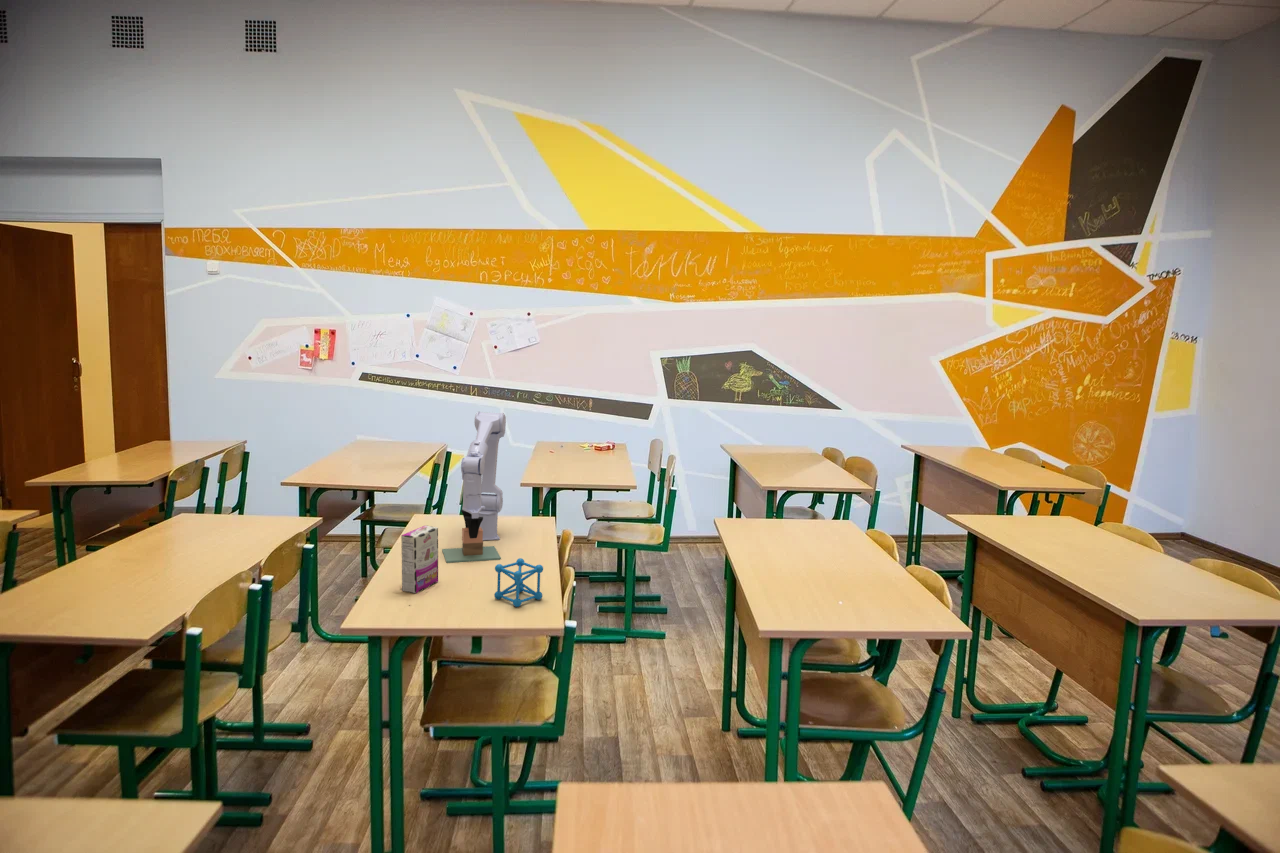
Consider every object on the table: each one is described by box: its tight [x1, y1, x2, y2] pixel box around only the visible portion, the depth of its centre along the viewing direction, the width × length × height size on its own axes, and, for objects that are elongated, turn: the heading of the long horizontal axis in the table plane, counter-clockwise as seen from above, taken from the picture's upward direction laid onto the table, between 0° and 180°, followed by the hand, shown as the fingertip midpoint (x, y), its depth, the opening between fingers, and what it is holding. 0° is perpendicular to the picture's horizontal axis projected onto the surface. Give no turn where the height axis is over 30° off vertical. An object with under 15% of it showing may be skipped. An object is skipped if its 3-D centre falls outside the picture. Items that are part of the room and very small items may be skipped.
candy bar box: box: [400, 525, 439, 594], centre depth 215 cm, size 11×5×16 cm, turn 161°
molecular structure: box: [493, 557, 544, 608], centre depth 210 cm, size 10×10×10 cm
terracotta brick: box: [461, 527, 484, 544], centre depth 246 cm, size 4×6×4 cm, turn 111°
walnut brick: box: [461, 540, 484, 556], centre depth 247 cm, size 4×6×4 cm, turn 110°
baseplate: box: [441, 545, 502, 564], centre depth 247 cm, size 13×17×1 cm
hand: (471, 534), depth 246 cm, fingers open, 7 cm apart
